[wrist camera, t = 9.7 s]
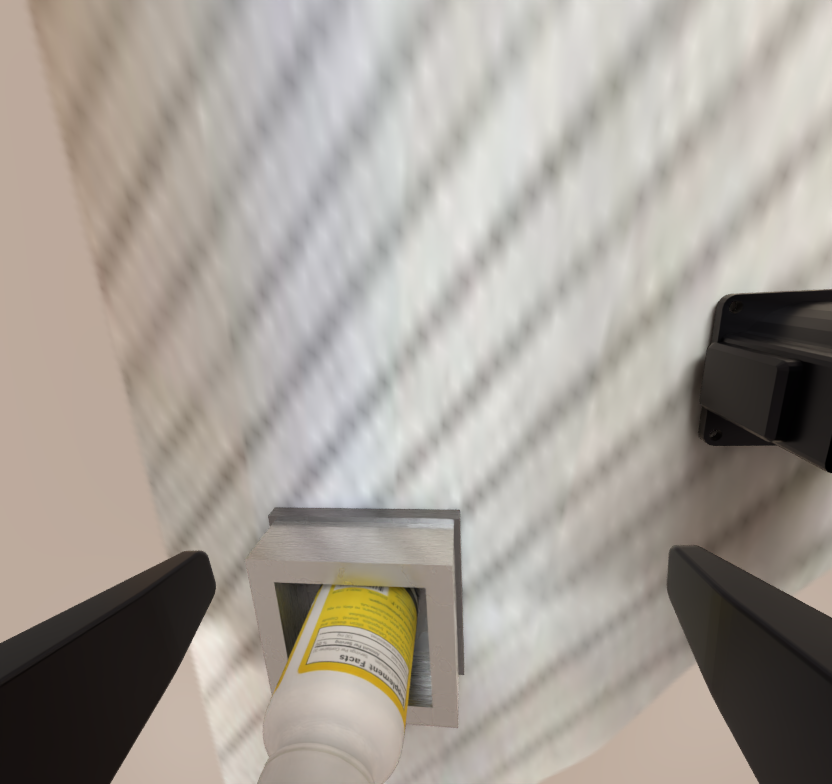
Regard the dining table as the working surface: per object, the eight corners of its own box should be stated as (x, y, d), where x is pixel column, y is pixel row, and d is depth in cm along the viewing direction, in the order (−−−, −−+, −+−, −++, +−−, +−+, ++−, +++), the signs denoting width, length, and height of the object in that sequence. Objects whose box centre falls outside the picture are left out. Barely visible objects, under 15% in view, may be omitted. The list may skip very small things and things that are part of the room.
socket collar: (459, 510, 21) (459, 559, 17) (464, 661, 23) (464, 732, 20) (274, 507, 22) (237, 553, 18) (299, 652, 24) (271, 717, 21)
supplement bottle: (365, 650, 23) (299, 911, 13) (302, 584, 22) (184, 813, 13) (441, 608, 21) (425, 866, 12) (376, 536, 21) (306, 752, 11)
